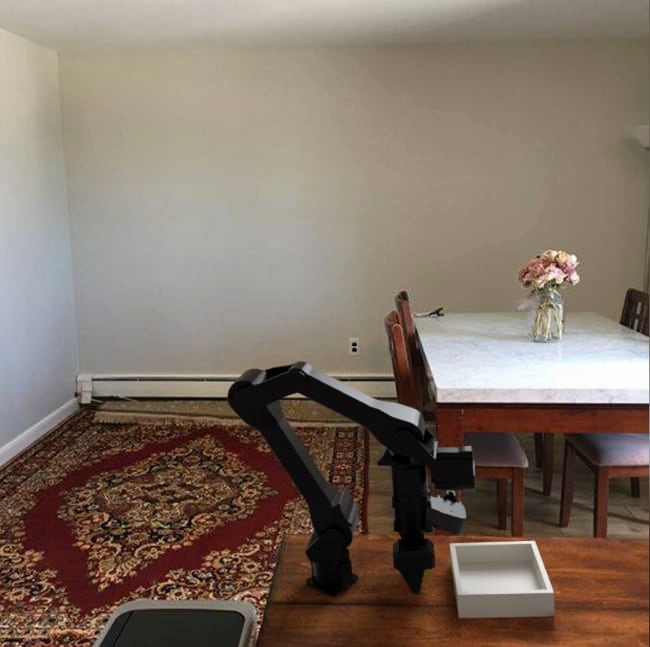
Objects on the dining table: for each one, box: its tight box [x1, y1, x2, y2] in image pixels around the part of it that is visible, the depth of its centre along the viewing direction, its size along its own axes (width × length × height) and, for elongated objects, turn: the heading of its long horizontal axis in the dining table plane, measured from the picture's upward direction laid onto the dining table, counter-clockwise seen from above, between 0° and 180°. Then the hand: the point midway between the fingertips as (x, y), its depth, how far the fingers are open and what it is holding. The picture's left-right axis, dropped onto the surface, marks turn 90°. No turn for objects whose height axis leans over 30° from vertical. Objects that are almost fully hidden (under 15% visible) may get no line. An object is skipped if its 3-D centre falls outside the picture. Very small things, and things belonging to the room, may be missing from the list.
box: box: [449, 540, 555, 619], centre depth 110 cm, size 14×14×4 cm
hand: (415, 576), depth 113 cm, fingers open, 9 cm apart
